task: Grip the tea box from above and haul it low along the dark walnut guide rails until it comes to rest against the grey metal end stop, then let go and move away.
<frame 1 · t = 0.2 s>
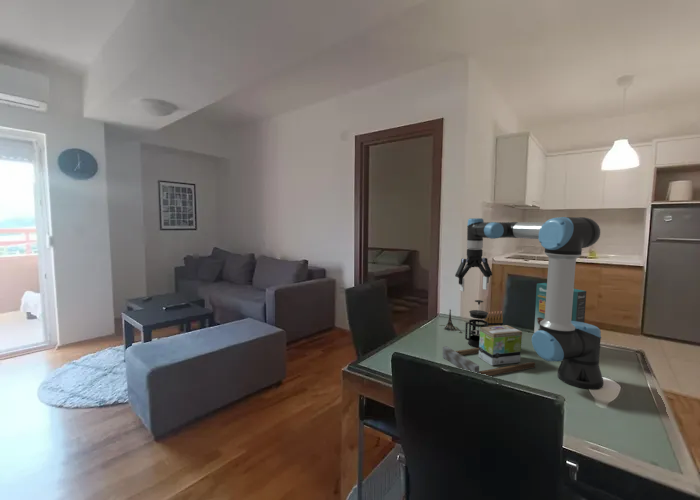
hand: (473, 290, 175), 28 cm above the table, tool pointing down, fingers open, 13 cm apart
ammunition clip: (493, 331, 195), on the table
guide track: (487, 361, 153), on the table
eiffel tower figurine: (450, 330, 198), on the table
french press: (476, 345, 174), on the table
cake mix box: (556, 345, 173), on the table
tea box: (499, 360, 155), on the table
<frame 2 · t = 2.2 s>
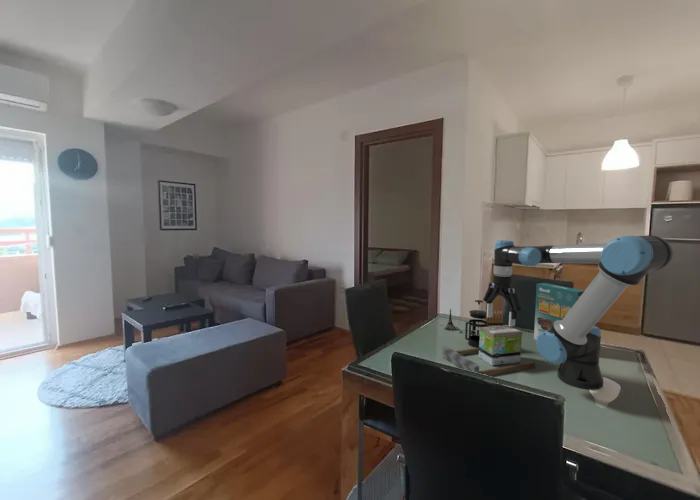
hand: (500, 321, 154), 18 cm above the table, tool pointing down, fingers open, 13 cm apart
nothing on the table moved.
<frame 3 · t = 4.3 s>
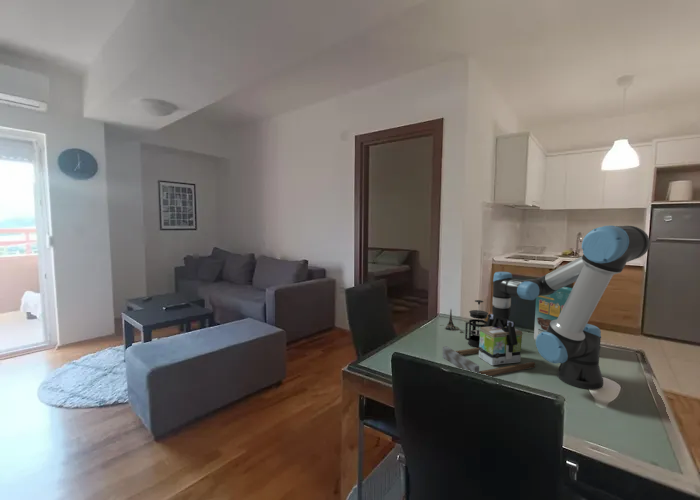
hand: (499, 354, 155), 3 cm above the table, tool pointing down, fingers closed on tea box, 10 cm apart
tea box: (499, 360, 155), on the table, touching gripper
everything else where it was.
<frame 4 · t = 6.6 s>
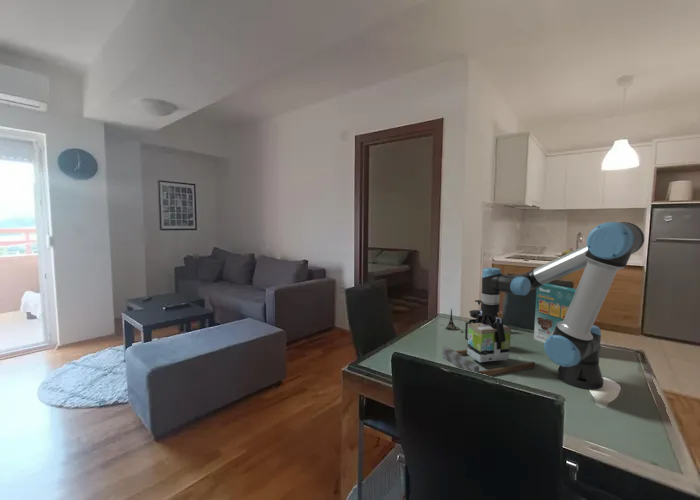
hand: (488, 351, 153), 5 cm above the table, tool pointing down, fingers closed on tea box, 10 cm apart
tea box: (487, 357, 153), point 2 cm above the table, touching gripper
everything else where it was.
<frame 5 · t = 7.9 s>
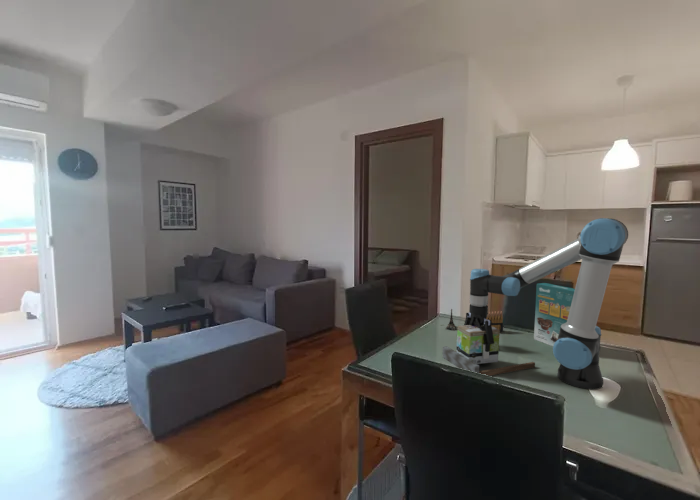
hand: (477, 353, 151), 5 cm above the table, tool pointing down, fingers closed on tea box, 10 cm apart
tea box: (476, 360, 151), point 2 cm above the table, touching gripper
when the fingers open (4 cm above the table, at t = 8.9 s): tea box drops 1 cm, on the table.
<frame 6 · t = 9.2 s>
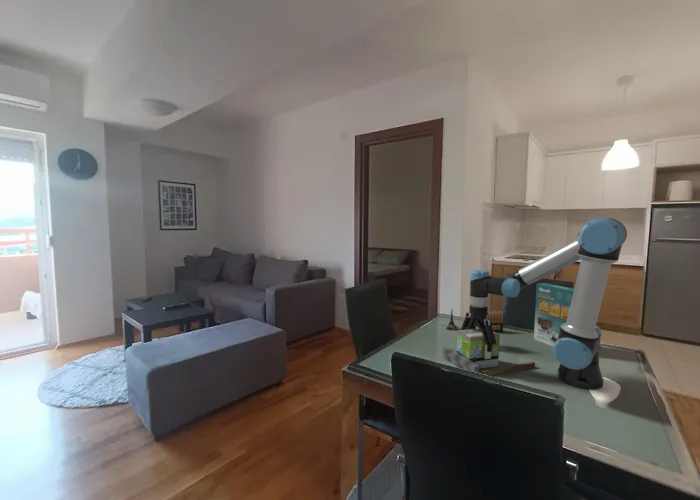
hand: (477, 352, 151), 5 cm above the table, tool pointing down, fingers open, 13 cm apart
tea box: (477, 364, 151), on the table
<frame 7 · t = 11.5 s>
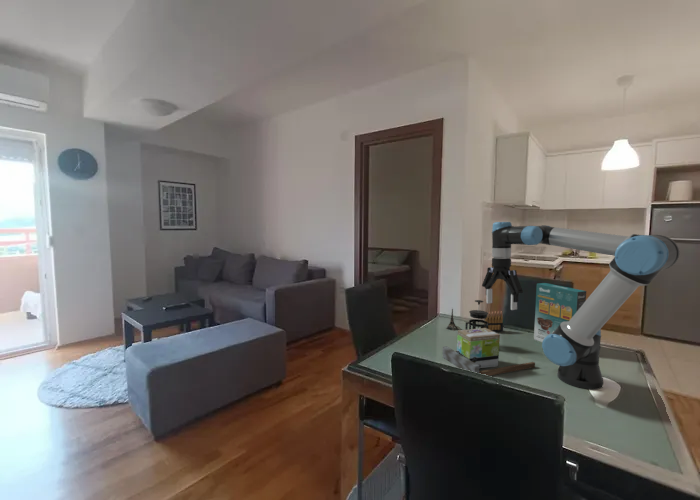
hand: (501, 306, 148), 26 cm above the table, tool pointing down, fingers open, 13 cm apart
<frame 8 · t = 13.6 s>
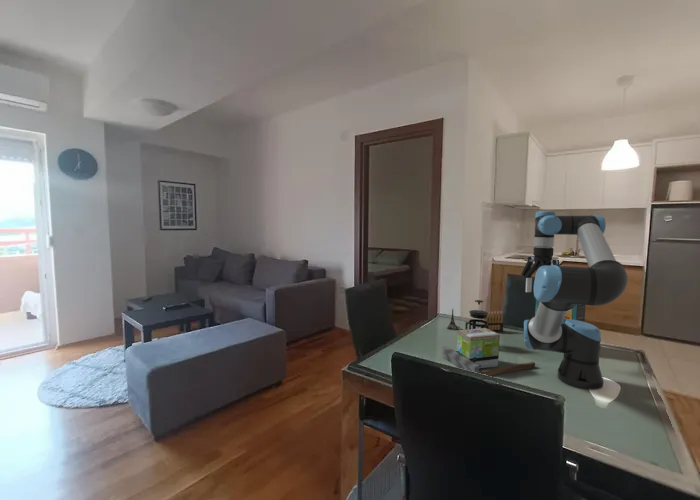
hand: (541, 295, 149), 31 cm above the table, tool pointing down, fingers open, 13 cm apart
at the end: tea box 0.4 cm from the target spot, on the table; tea box tilted 0°; the gripper is holding nothing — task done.
